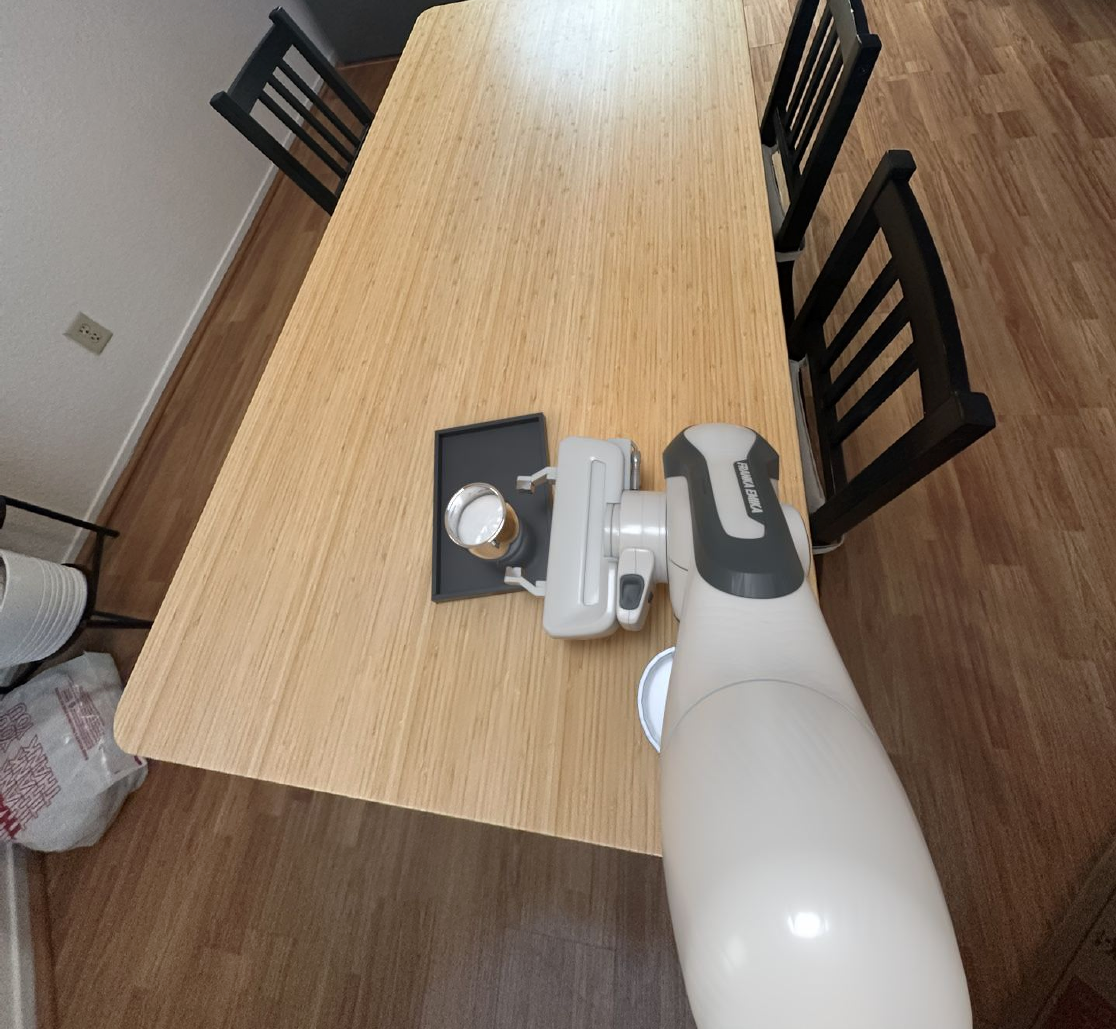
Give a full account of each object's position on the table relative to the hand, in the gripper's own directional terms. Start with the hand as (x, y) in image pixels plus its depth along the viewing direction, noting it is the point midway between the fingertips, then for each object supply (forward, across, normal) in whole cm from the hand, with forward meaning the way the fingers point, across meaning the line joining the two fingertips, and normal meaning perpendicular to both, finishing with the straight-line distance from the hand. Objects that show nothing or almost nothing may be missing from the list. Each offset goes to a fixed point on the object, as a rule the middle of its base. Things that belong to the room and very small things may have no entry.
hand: (512, 528), depth 68 cm
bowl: (-18, +14, +10) cm, 25 cm away
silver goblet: (+3, 0, +10) cm, 10 cm away
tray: (+6, -5, +10) cm, 13 cm away
